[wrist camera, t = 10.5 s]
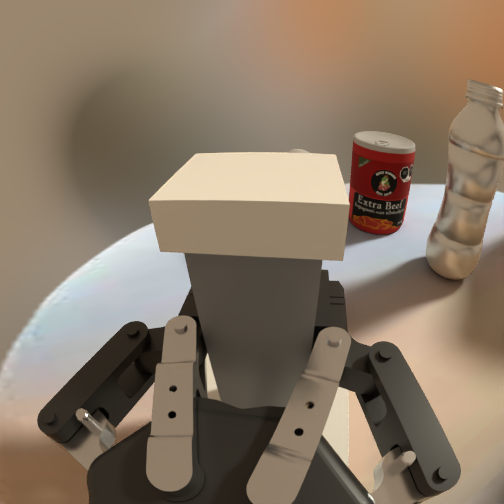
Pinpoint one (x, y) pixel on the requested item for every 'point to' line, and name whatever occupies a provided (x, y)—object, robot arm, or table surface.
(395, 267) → the table surface
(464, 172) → the plastic bottle
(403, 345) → the table surface
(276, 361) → the slider knob
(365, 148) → the canned food
